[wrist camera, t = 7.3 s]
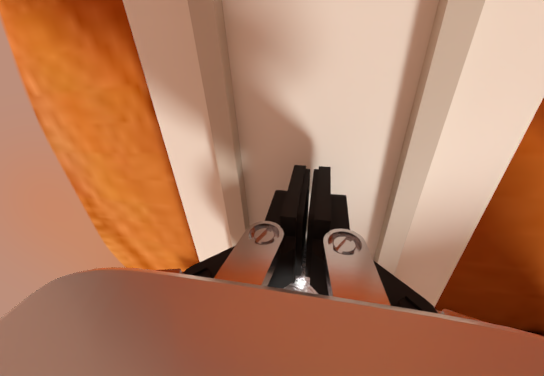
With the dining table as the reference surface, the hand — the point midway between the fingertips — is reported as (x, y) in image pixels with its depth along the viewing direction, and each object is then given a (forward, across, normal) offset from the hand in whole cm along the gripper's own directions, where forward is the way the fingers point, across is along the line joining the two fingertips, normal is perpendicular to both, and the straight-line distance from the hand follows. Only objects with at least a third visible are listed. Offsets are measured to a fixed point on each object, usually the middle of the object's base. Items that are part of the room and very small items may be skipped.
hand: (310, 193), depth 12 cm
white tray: (+4, 0, +3) cm, 5 cm away
